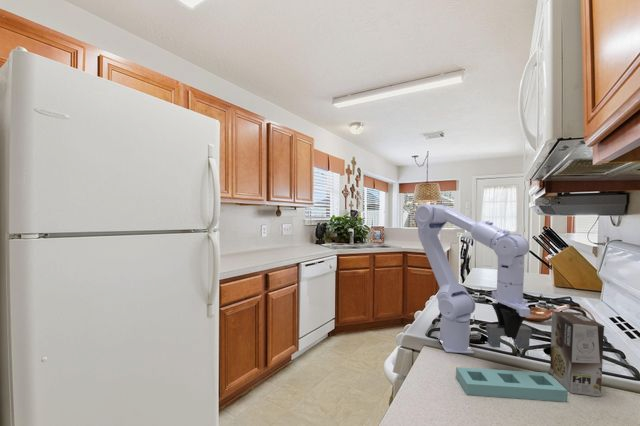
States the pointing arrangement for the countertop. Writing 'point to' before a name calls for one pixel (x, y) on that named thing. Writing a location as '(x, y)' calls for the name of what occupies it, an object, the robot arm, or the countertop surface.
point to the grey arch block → (499, 330)
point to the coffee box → (577, 352)
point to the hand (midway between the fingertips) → (508, 334)
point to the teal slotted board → (510, 384)
